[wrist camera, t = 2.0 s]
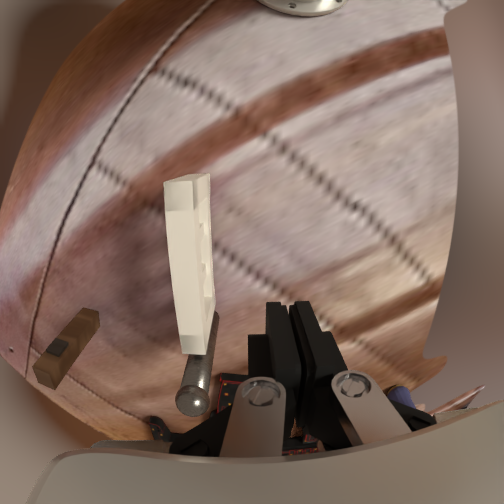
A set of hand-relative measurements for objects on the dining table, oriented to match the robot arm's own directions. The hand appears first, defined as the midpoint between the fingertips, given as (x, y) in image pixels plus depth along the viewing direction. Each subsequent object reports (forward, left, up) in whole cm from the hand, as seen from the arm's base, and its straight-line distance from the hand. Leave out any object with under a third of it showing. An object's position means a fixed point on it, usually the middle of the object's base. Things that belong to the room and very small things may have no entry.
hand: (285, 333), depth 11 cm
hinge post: (+12, -4, -19) cm, 23 cm away
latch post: (+16, -20, -19) cm, 32 cm away
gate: (+3, -6, -18) cm, 19 cm away
